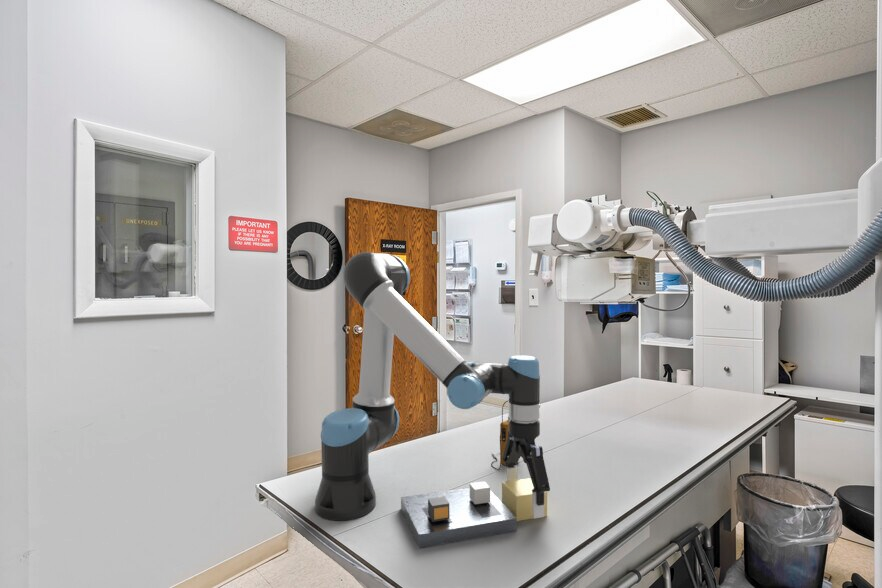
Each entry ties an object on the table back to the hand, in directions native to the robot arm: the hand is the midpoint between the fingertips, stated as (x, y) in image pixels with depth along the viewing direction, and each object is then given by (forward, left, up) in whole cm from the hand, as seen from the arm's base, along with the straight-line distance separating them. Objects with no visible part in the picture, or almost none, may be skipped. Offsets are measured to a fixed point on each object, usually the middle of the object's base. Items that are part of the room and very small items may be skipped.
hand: (524, 504), depth 117 cm
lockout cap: (0, 0, -2) cm, 2 cm away
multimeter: (+8, +32, -2) cm, 33 cm away
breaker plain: (-11, +2, +2) cm, 11 cm away
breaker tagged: (-23, -3, +2) cm, 23 cm away
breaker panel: (-18, +1, -2) cm, 18 cm away
